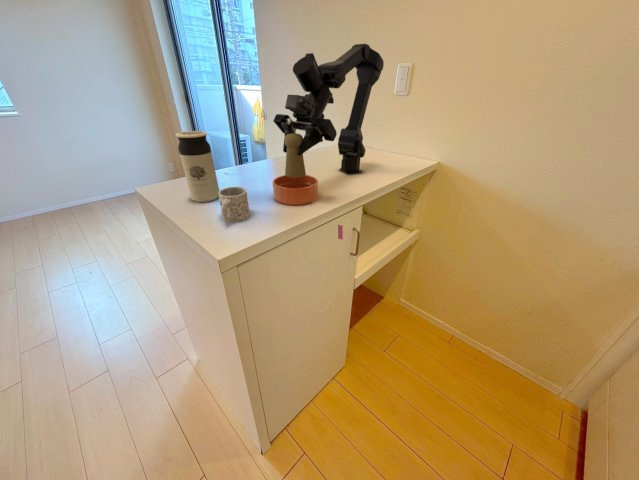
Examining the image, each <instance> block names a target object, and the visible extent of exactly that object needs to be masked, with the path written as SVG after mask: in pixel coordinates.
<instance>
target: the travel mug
mask: <svg viewBox="0 0 639 480" xmlns="http://www.w3.org/2000/svg"><path fill="white" fill-rule="evenodd" d="M207 134H208V133H207V132H206V131H202V130H191V131H190V130H188V131H186V130H185V131H180V132H177V133H175V136H176V137H177V139H178V146H177V149H178V153H179V156H180V160H181V164H182V167H183V172H184V175H185V179H186V182H187V187H188V191H189V193H190V194H189V195H190V197H191V200H192V201H195V202H199V203H205V202H212V201H214V200H217V199H219V194H218V192H219V191H220V188H219V187H220V186H219V183H218V177H217V172H216V167H215V163H214V158H213V154H212V148H211V144H210V143H209V141H208V140H207Z"/></svg>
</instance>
